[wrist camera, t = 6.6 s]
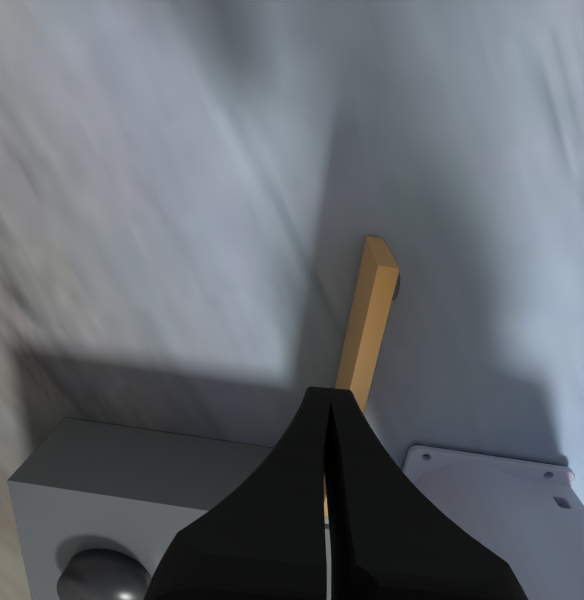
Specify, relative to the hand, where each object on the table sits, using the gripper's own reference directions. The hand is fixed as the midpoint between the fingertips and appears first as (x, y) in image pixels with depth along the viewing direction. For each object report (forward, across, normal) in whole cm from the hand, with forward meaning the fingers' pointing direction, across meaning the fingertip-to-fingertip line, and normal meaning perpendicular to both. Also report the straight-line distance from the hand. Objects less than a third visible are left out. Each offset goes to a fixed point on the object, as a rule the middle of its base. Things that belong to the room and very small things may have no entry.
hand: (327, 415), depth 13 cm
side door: (+9, -2, +3) cm, 10 cm away
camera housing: (+9, +7, +15) cm, 19 cm away
